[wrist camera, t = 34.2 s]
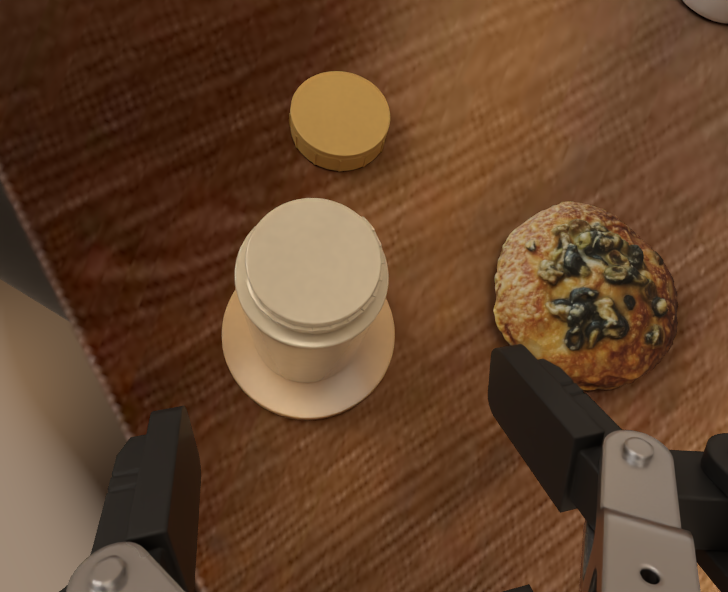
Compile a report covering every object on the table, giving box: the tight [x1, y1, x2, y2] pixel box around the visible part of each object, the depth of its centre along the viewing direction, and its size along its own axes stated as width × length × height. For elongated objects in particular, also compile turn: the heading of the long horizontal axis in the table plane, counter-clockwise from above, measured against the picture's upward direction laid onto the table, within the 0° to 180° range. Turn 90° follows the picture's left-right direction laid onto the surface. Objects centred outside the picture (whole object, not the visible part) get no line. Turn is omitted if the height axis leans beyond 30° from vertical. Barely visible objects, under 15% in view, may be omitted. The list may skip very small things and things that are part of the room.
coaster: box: [222, 290, 395, 420], centre depth 27 cm, size 9×9×1 cm
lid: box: [289, 71, 390, 172], centre depth 31 cm, size 6×6×2 cm
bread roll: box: [493, 201, 678, 390], centre depth 28 cm, size 11×11×5 cm
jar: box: [235, 198, 389, 383], centre depth 22 cm, size 6×6×10 cm
